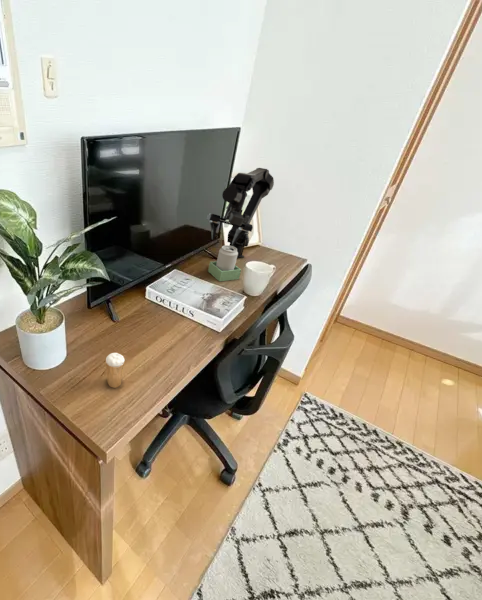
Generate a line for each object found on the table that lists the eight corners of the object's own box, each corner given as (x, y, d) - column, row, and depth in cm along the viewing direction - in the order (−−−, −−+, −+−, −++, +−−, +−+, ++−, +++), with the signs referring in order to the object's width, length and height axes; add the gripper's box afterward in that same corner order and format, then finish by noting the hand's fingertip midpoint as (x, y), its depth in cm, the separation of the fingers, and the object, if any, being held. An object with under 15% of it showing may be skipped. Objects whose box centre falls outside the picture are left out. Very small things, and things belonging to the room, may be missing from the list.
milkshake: (119, 394, 79) (121, 364, 73) (101, 384, 81) (102, 355, 76) (129, 382, 82) (131, 353, 77) (111, 374, 84) (112, 345, 79)
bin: (226, 269, 141) (228, 259, 139) (238, 279, 134) (241, 269, 131) (207, 271, 138) (209, 261, 136) (219, 281, 131) (221, 271, 129)
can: (235, 277, 134) (242, 250, 127) (220, 279, 132) (226, 252, 125) (226, 269, 140) (232, 243, 133) (211, 270, 138) (216, 244, 131)
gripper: (220, 199, 122) (207, 239, 127) (265, 212, 125) (250, 251, 129) (212, 199, 133) (200, 236, 137) (253, 211, 135) (239, 246, 140)
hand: (222, 242), depth 136 cm, fingers open, 9 cm apart
